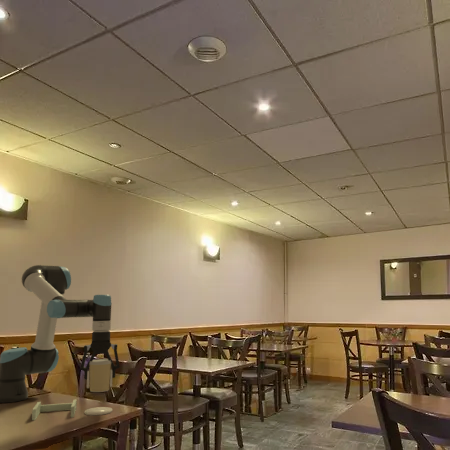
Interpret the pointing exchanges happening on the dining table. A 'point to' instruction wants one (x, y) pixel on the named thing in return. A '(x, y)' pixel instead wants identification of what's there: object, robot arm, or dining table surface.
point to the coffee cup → (99, 375)
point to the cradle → (53, 408)
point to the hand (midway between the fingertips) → (99, 386)
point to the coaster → (98, 411)
